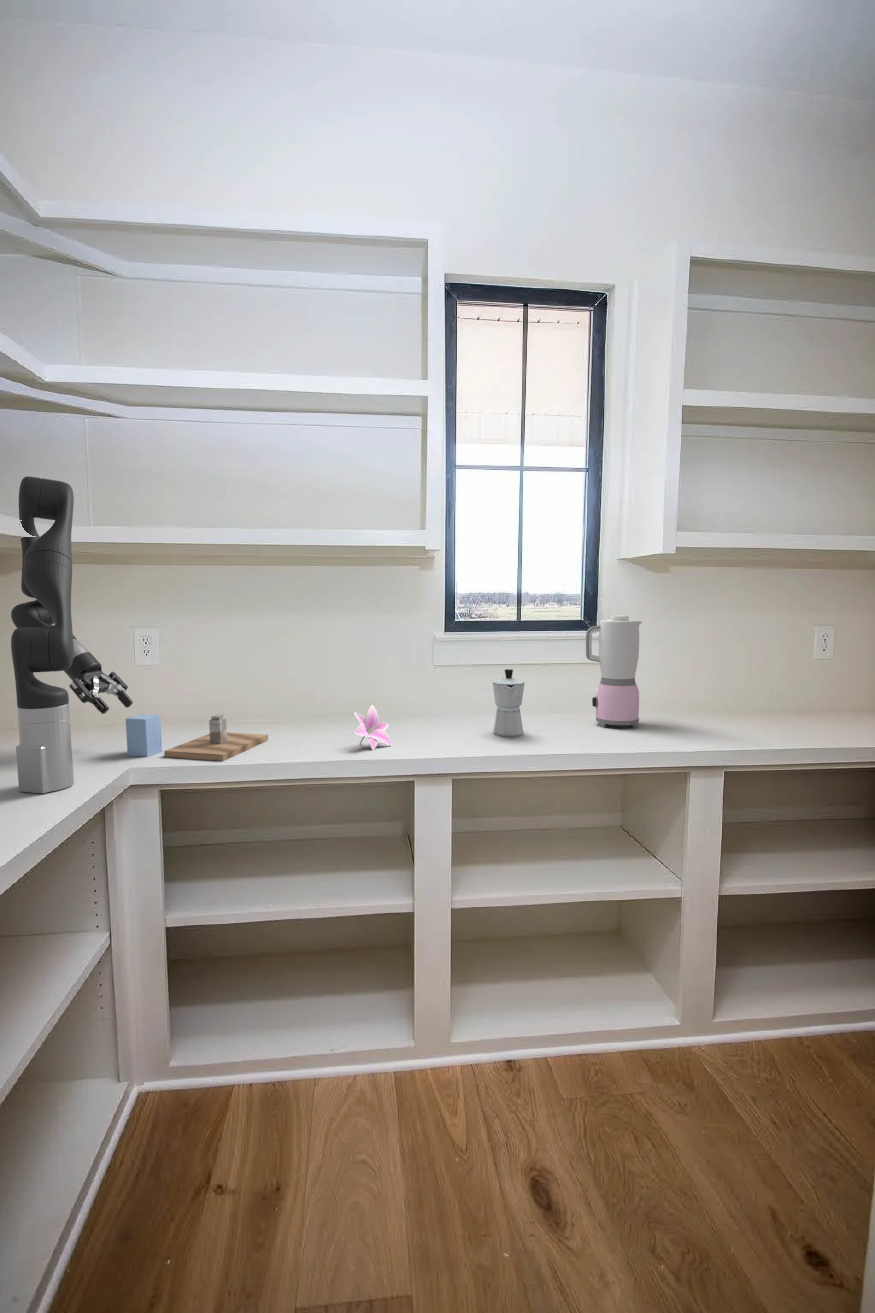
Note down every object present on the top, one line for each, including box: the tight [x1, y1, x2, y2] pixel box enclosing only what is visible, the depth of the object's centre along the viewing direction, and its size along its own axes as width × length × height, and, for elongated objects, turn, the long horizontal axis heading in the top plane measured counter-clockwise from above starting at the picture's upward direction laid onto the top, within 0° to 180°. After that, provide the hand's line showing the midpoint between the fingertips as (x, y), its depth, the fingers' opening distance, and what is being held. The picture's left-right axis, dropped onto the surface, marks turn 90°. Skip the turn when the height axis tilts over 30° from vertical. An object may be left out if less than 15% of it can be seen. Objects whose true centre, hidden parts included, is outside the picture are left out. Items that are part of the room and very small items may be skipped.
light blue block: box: [125, 713, 163, 758], centre depth 170 cm, size 6×6×9 cm
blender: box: [585, 614, 643, 729], centre depth 200 cm, size 16×12×32 cm
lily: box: [354, 704, 394, 751], centre depth 177 cm, size 12×12×10 cm
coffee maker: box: [492, 668, 526, 738], centre depth 191 cm, size 15×9×18 cm, turn 0°
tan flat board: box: [163, 714, 269, 762], centre depth 175 cm, size 22×16×8 cm
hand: (118, 708), depth 171 cm, fingers open, 8 cm apart
